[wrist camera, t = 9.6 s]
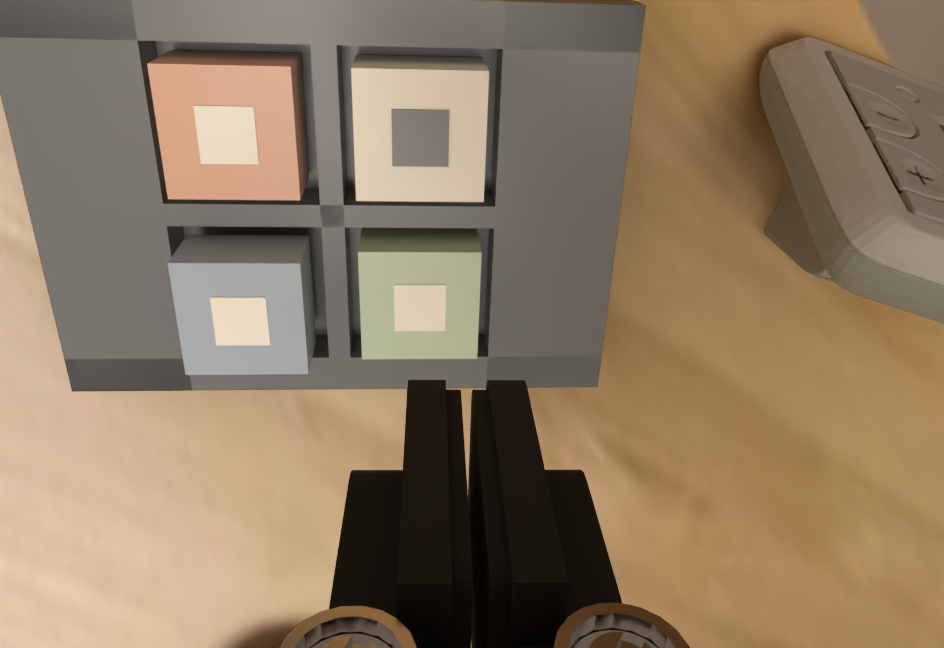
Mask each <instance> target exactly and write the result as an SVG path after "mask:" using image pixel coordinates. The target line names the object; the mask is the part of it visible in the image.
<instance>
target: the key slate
mask: <svg viewBox="0 0 944 648" xmlns="http://www.w3.org/2000/svg"><path fill="white" fill-rule="evenodd" d="M168 269H169V275H170V281H171V288H172V294H173V300H174V306H175V313H176V319H177V325H178V331H179V338H180V344H181V350H182V356H183V363H184V369H185V375H260V374H309V370H310V365H311V361H312V356H313V352H314V347H315V343H316V329H315V314H314V300H313V285H312V270H311V255H310V241H309V236H305V235H187V236H186V237H185V239H184V240H183V242H182V243H181V245H180V246H179V247H178V249H177V250H176V252H175V253H174V255H173V256H172V258H171V259H170V260H169V262H168Z"/></svg>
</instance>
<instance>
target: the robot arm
mask: <svg viewBox="0 0 944 648" xmlns="http://www.w3.org/2000/svg"><path fill="white" fill-rule="evenodd" d="M471 644H472V648H690V647H689V645H688V644H687V643H686V641H685V640H684V639H683V637H682V636H681V635H680V633H679V632H678V631H677V630H676V629H675V628H674V627H673V626H671V625H670V624H669V623H668V622H666V621H665V620H664V619H663V618H661V617H660V616H658V615H656V614H653V613H651V612H649V611H647V610H645V609H643V608H641V607H636V606H632V605H627V604H623V603H622V601H621V597H620V594H619V590H618V587H617V583H616V580H615V576H614V573H613V570H612V566H611V563H610V559H609V556H608V552H607V549H606V545H605V542H604V539H603V535H602V532H601V528H600V525H599V521H598V518H597V514H596V511H595V508H594V504H593V501H592V497H591V494H590V490H589V487H588V483H587V480H586V477H585V475H584V472H583V471H581V470H545V469H544V464H543V459H542V455H541V450H540V445H539V441H538V436H537V432H536V427H535V422H534V418H533V413H532V408H531V404H530V399H529V395H528V390H527V385H526V382H525V380H487V383H486V390H472V401H471V429H470V458H469V486H468V495H467V480H466V464H465V449H464V433H463V418H462V403H461V390H446V380H408V389H407V407H406V425H405V443H404V461H403V470H352V471H351V473H350V478H349V484H348V490H347V497H346V503H345V510H344V516H343V523H342V529H341V535H340V542H339V548H338V555H337V561H336V567H335V574H334V580H333V587H332V593H331V600H330V606H329V610H325V611H321V612H319V613H317V614H315V615H313V616H311V617H310V618H308V619H306V620H304V621H302V622H301V623H300V624H299V625H298V626H297V627H295V628H294V629H293V630H292V631H291V632H290V633H289V634H288V635H287V636H286V638H285V639H284V641H283V643H282V644H281V646H280V647H279V648H471Z"/></svg>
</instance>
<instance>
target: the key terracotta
mask: <svg viewBox="0 0 944 648" xmlns="http://www.w3.org/2000/svg"><path fill="white" fill-rule="evenodd" d="M147 66H148V73H149V79H150V86H151V92H152V99H153V105H154V112H155V118H156V125H157V131H158V138H159V144H160V151H161V157H162V164H163V170H164V177H165V183H166V190H167V196H168V199H194V200H301V197H302V195H303V192H304V190H305V187H306V184H307V182H308V179H309V167H308V151H307V136H306V121H305V106H304V90H303V75H302V60H301V53H263V52H220V51H177V50H170V51H168V52H166V53H165V54H163V55H161V56H159V57H158V58H156V59H154V60H152V61H151V62H149V63H147Z"/></svg>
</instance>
